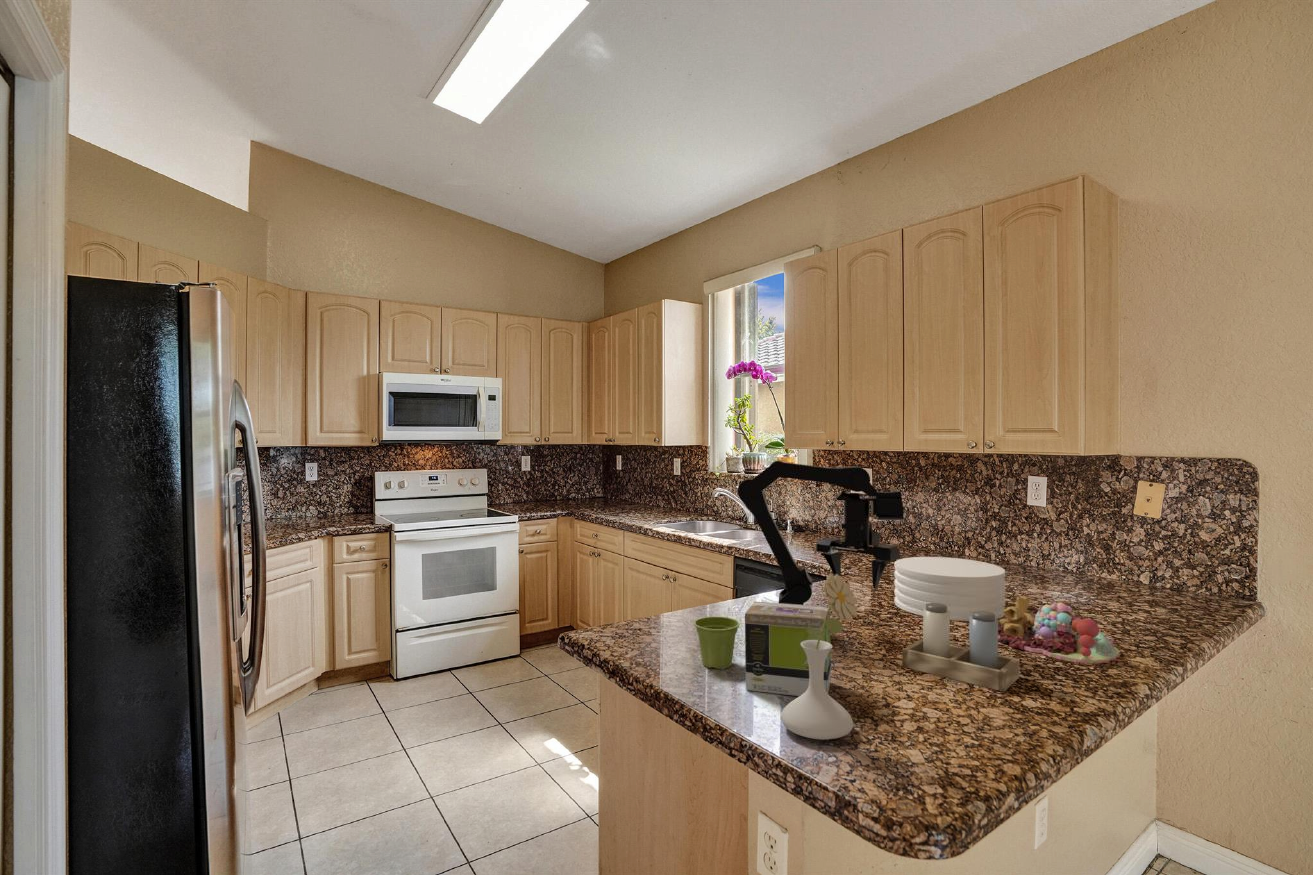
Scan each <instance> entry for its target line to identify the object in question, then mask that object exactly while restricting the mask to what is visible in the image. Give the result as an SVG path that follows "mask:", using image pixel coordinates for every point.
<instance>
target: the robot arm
mask: <svg viewBox="0 0 1313 875" xmlns="http://www.w3.org/2000/svg"><path fill="white" fill-rule="evenodd" d="M780 478H785V479H793V480H801V481H809V482H816V483H825V484H830V485H833V486H835V487H839V488H843V489H841V491H840V493H839V494H837V495H836V496H835V499H836V500H837V501H843V523H841V525H840V526H841V529H843V540H841V538H832V537H825V538H820V539H818V540H817V541H816V544H815V551H816V553H817V552H819V553H820V556H822V557H824V559H825V562H826V563H827V564H828V566H829V567H830V570H831V573H832V575H833V576H835V575H836V574H838V575H839V576H841V577H842V567H841V563H842V562H841V559H842V555H843V552H848V553H854V554H855V553H856V554H864V555H870V556H871V555H872V556H873V558H874V559H872V560H871V575H872V580H871V581H872V587H873V589H878V586H879V583H880V581H881V578H882V575H883V573H884V570H885V569H886V567H887V566H888V564H889V563H892V562H895V561H894V560H899V559H901V554H900V553H901V550H900V549H899V548H900V547H898V545H891V544H884V543H883V544H880V542H881V534H880V533H879V532H877V531H875V530H873V524H872V523H870V510H871V515H872V516H873V517H876V520H877V521H903V520H904V513H905V512H904V511H905V510H904V509H905V506H903V498H902V497H903V496H902V492H901V491H899V490H898V491H897V490H896V491H877V487H874V485H873V484H872V483H871V476H870V473H869V472H868V471H867V470H866V469H865V468H863V467H860V466H856V465H855V466H854V465H853V466H851V465H850V466H838V467H835V466H834V467H825V466H824V467H823V466H820V465H819V466H818V465H811V464H810V465H809V464H802V463H793V462H784V461H782V460H775V461H773V462H772V463H770V465H769V466H768V467H766V468H765V469H764V470H762V471H761V472H760V473H758V474H757V475H756V476H754V477H747V478H745V479H744V480H742V481H741V482H740V483H739V484H738V488H737V495H738V498H739V499H740V501H741V502H742V503H743V505H744V506H745V507H746V508H747V509H748V511H749V512H750V513H751V514H752V516H753V517H754V519H755V520H756V522H757V524H758V526H759V529H760V530H761V532H762V534H763V536H764V538H765V540H766V542H767V544H768V546H769V548H770V550H771V552H772V555H773V556H774V558H775V560H776V563H777V564H778V566H779V568H780V570H781V575H782V580H783V582H784V587H785V588H783V589H782V590H781V591H780V592H779V595H778V603H784V604H798V605H805V603H806V602H808V601H809V600H810V599H811V597H812V595H813V589H812V586H813V578H812V577H811V576H810V575H809V573H808V570H807V567H806V565H805V564H802V565H800V566H799V564H798V563H797V562H796V561H795V559H794V557H793V555H792V554H791V551H790V550H789V548H788V545H787V544H786V541H785V539H784V537H783V535H782V533H781V531H780V529H779V528H778V525H777V523H776V521H775V520H774V518H773V515H772V514H771V511H770V509H769V506H768V501H767V498H766V494H765V492H764V490H766V489H767V488H768V487H769V486H770V485H772V484H773V483H775V481H777V480H778V479H780ZM844 489H846V490H849V491H852V493H851V492H849V493H847V492H846V491H845V490H844ZM853 492H855V493H853ZM859 492H862V493H864V494H865V495H866V496H868V497H862V496H860V493H859ZM870 504H871V506H870ZM870 507H871V509H870Z"/></svg>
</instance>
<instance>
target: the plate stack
mask: <svg viewBox="0 0 1313 875" xmlns="http://www.w3.org/2000/svg"><path fill="white" fill-rule="evenodd" d="M893 566H894V573H893V574H894V578H895V579H894V580H893V581H894V600H893V601H894V605H895V606H896V607H897V608H899V609H900V610H903V611H904V612H908V613H911V614H915V615H918V616H922V617H923V609H924V608H926V604H928V603H938V604H943V605H946V606H947V610H948V611H950V621H960V622H969V617H970V616H972V612H974V611H984V612H990V613H993V614H995V619H997V620H999V619H1000V618H1001V619H1002V618H1003V617H1005V615H1004V613H1003V611H1004V610H1005V609H1006V607H1005V606H1006V588H1005V587H1006V579H1005V577H1006V570H1005V568H1003V567H1001V566H999V565H996V564H993V563H988V562H983V561H978V560H974V559H967V558H956V557H945V556H943V557H942V556H913V557H904V558H898V559H896V561H894V565H893Z"/></svg>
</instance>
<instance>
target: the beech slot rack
mask: <svg viewBox="0 0 1313 875" xmlns="http://www.w3.org/2000/svg"><path fill="white" fill-rule="evenodd" d="M902 667H903V668H907V669H910V670H911V669H912V670H914V671H917V672H918V671H919V672H923V673H927V674H931V675H935V676H939V677H942V678H947V679H951V680H956V681H958V682H963V683H967V684H971V685H976V686H979V687H982V688H983V687H984V688H988V689H990V690H996V691H1000V692H1003V693H1005V692H1006V691H1007V690H1008V689H1010V687H1011V686H1012V685H1013V684H1014V683H1015V682H1016V681H1017V680H1018V679H1019V678H1020V659H1019V658H1014V657H1010V656H1006V655H1000V654H998V670H997V669H993V668H988V667H984V666H980V665H975V664H971V663H969V648H968V647H963V646H959V645H954V644H950V659H949V658H944V657H940V656H936V655H931V654H927V653H923V638H920V639H918V640H917V641H915V642H913V643H912V644H910V645H908V646H906V647H904V648H903V649H902Z"/></svg>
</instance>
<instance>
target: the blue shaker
mask: <svg viewBox="0 0 1313 875" xmlns="http://www.w3.org/2000/svg"><path fill="white" fill-rule="evenodd" d="M998 621H999V619H995V614H993V613H990V612H984V611H974V612H972V616H970V617H969V621H968V622H969V626H968V627H969V628H968V629H969V631H968V634H969V636H968V637H969V639H968V641H969V643H968V646H969V648H968V649H969V663H971V664H975V665H980V666H984V667H988V668H993V669H997V670H998V655H999V642H998V640H999V639H998Z"/></svg>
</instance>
